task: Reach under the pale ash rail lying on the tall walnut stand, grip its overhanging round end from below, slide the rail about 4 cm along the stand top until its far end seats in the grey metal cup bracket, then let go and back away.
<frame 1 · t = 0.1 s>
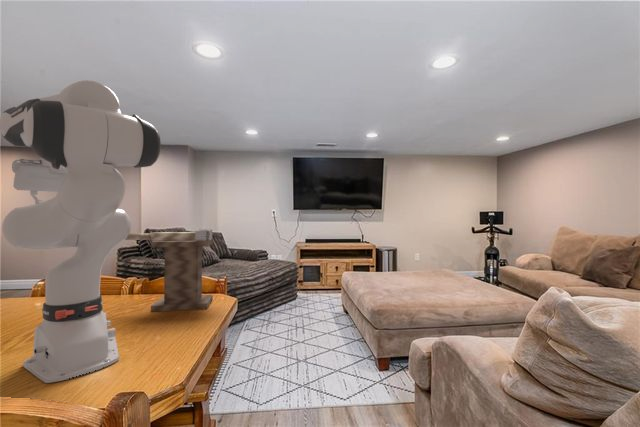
hand: (59, 206, 93), 39 cm above the table, tool pointing down, fingers open, 8 cm apart
cup bracket: (202, 239, 118), resting on walnut stand
walnut stand: (183, 305, 117), on the table
ash rail: (174, 240, 116), point 26 cm above the table, touching walnut stand
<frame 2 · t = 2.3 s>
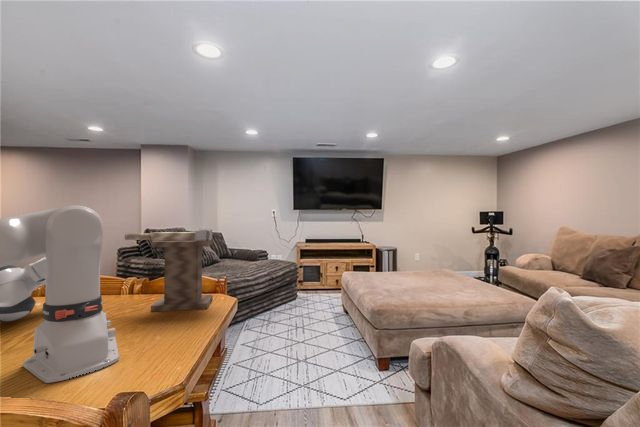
hand: (84, 250, 110), 22 cm above the table, tool pointing upward, fingers open, 8 cm apart
nothing on the table moved.
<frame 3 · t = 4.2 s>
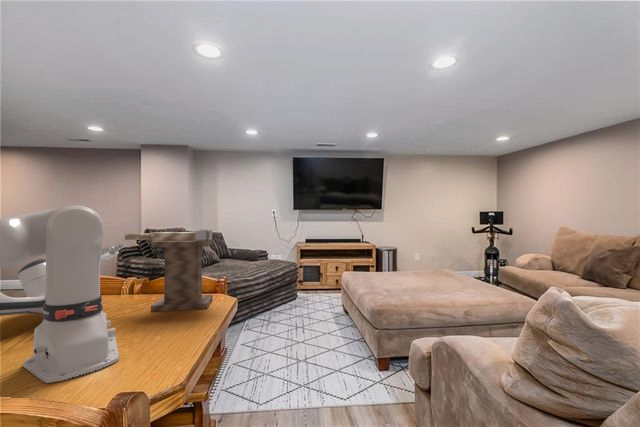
hand: (117, 246, 113), 24 cm above the table, tool pointing upward, fingers open, 8 cm apart
nothing on the table moved.
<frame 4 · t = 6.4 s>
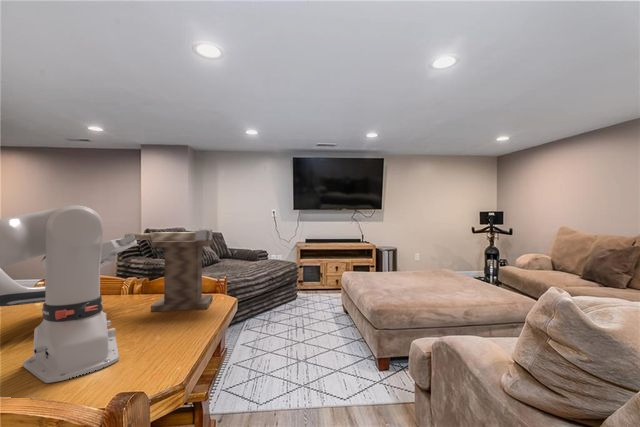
hand: (136, 235, 114), 28 cm above the table, tool pointing upward, fingers closed on ash rail, 2 cm apart
ash rail: (174, 240, 116), point 26 cm above the table, touching gripper, walnut stand
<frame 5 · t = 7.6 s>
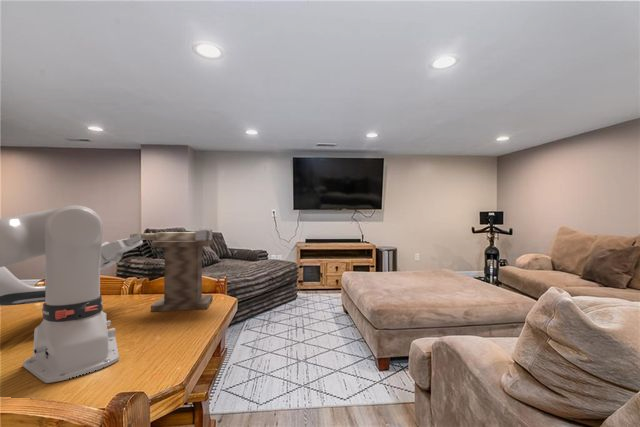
hand: (143, 235, 114), 28 cm above the table, tool pointing upward, fingers closed on ash rail, 2 cm apart
ash rail: (179, 240, 117), point 26 cm above the table, touching gripper, walnut stand
when the fingers open (28 cm above the table, at t = 9.0 s): ash rail stays where it is, resting on walnut stand.
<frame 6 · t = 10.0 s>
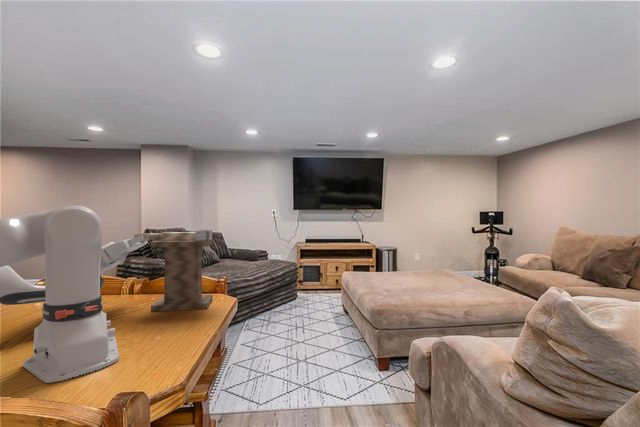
hand: (148, 235, 115), 28 cm above the table, tool pointing upward, fingers open, 8 cm apart
ash rail: (183, 240, 117), point 26 cm above the table, touching walnut stand
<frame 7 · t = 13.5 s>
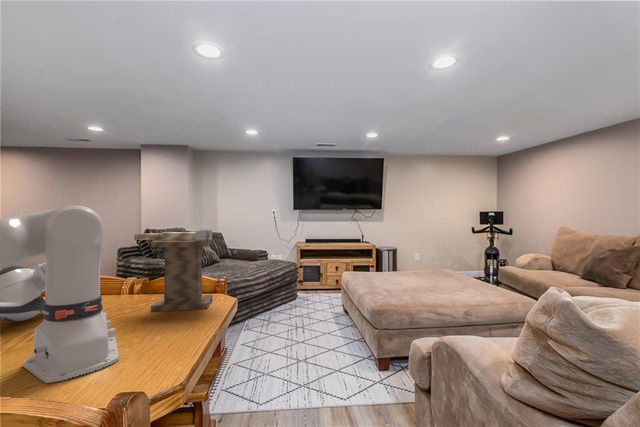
hand: (91, 249, 111), 23 cm above the table, tool pointing upward, fingers open, 8 cm apart
nothing on the table moved.
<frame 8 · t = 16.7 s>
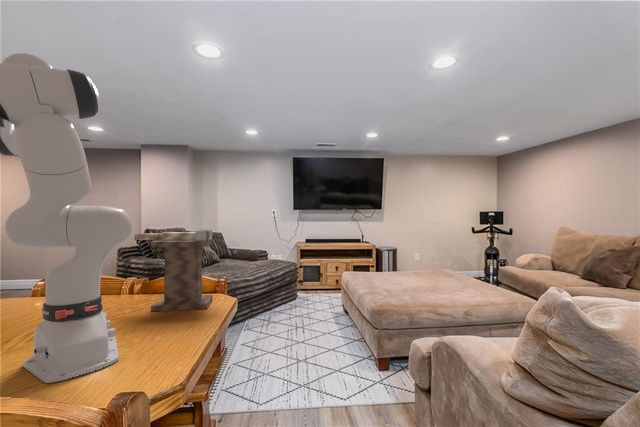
hand: (53, 211, 101), 37 cm above the table, tool pointing down, fingers open, 8 cm apart
nothing on the table moved.
at the end: ash rail 7.1 cm from the cup bracket (horizontally); ash rail point 26.0 cm above the table; the gripper is holding nothing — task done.
